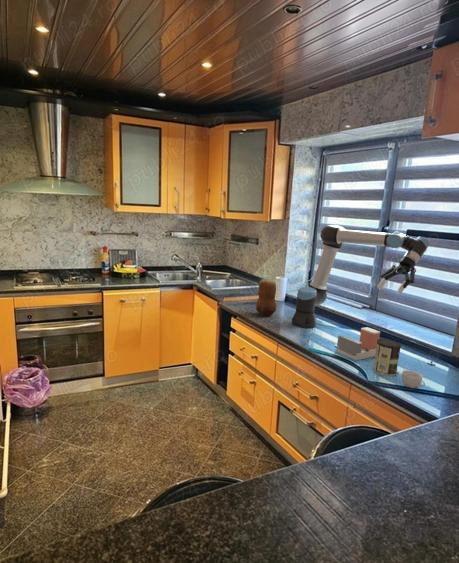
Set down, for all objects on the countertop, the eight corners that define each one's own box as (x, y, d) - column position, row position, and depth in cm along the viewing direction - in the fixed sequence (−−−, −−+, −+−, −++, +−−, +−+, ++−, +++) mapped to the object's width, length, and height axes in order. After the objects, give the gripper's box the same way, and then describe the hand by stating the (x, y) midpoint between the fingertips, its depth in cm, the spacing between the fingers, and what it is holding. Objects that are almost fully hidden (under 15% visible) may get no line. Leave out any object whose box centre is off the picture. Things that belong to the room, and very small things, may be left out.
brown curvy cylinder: (267, 312, 266) (270, 277, 262) (279, 317, 255) (282, 280, 251) (251, 313, 259) (254, 277, 255) (262, 318, 248) (266, 281, 244)
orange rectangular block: (365, 344, 205) (367, 327, 203) (377, 349, 198) (380, 331, 196) (358, 345, 202) (361, 328, 200) (371, 350, 195) (373, 332, 193)
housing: (364, 345, 209) (366, 331, 207) (384, 354, 198) (387, 338, 196) (336, 351, 197) (338, 335, 196) (356, 360, 186) (358, 343, 185)
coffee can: (393, 368, 179) (398, 340, 176) (398, 377, 169) (403, 347, 166) (371, 365, 181) (375, 337, 178) (374, 374, 171) (379, 344, 168)
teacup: (396, 383, 162) (398, 371, 161) (407, 380, 166) (409, 369, 165) (417, 393, 154) (419, 381, 153) (429, 390, 158) (431, 378, 157)
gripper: (433, 267, 198) (411, 298, 194) (393, 263, 220) (373, 291, 216) (427, 257, 195) (405, 288, 191) (387, 254, 217) (367, 282, 213)
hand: (388, 290), depth 203 cm, fingers open, 13 cm apart
